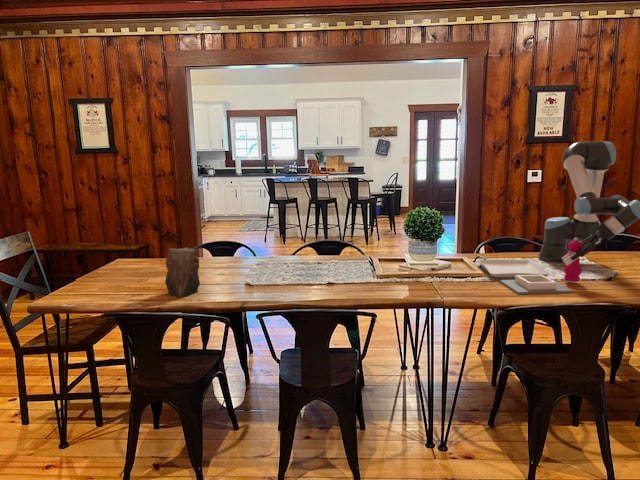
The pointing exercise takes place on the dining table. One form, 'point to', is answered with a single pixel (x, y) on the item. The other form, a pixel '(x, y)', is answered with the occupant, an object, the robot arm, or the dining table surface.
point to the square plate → (512, 268)
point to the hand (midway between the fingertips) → (564, 261)
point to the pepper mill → (573, 268)
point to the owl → (182, 272)
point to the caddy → (534, 285)
